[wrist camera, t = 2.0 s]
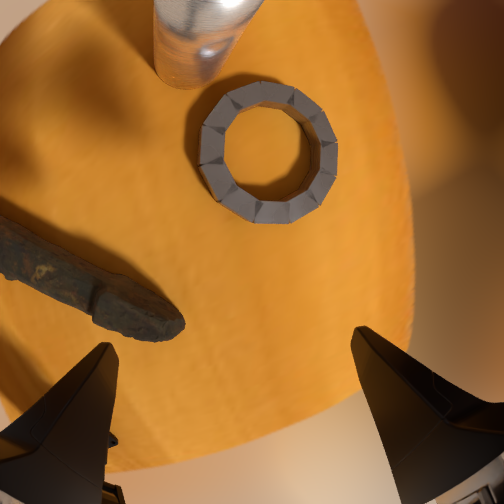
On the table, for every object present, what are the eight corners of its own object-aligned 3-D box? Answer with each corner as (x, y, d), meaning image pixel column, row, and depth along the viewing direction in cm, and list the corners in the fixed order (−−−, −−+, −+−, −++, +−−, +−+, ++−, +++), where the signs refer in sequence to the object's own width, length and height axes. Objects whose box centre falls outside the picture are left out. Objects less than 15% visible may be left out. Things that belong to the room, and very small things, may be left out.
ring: (238, 246, 20) (244, 250, 19) (173, 121, 17) (174, 116, 16) (344, 185, 22) (355, 185, 21) (293, 74, 19) (301, 67, 17)
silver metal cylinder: (170, 100, 17) (192, -24, 5) (143, 48, 15) (142, -85, 3) (234, 74, 17) (326, -35, 5) (205, 25, 16) (262, -98, 4)
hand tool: (-27, 239, 14) (-58, 252, 9) (-15, 192, 14) (-48, 196, 9) (168, 341, 21) (171, 377, 16) (189, 299, 20) (196, 328, 16)
